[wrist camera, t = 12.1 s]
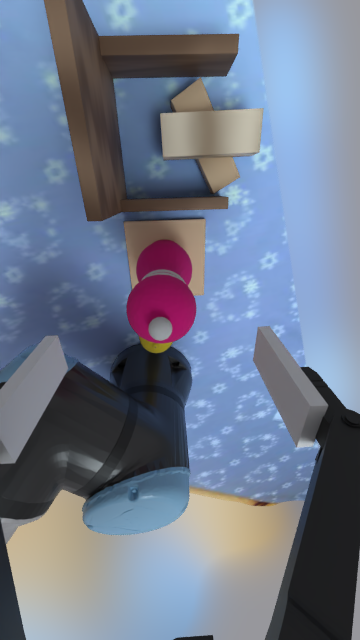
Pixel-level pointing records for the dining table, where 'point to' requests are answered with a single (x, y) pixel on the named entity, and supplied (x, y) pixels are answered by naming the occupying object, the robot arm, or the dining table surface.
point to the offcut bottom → (212, 169)
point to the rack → (100, 105)
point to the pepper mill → (162, 293)
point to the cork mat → (179, 231)
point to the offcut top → (211, 134)
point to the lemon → (154, 346)
